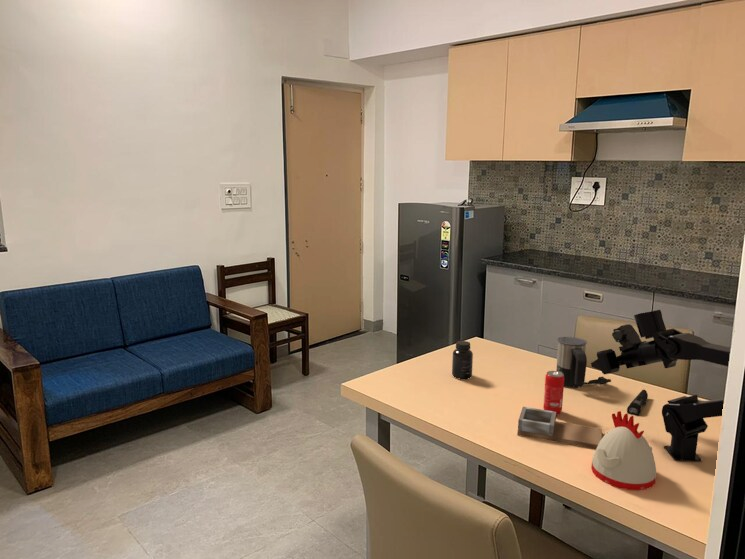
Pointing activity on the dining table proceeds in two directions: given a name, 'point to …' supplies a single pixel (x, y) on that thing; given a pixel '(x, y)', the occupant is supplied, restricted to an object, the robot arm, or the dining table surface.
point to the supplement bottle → (462, 360)
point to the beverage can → (554, 391)
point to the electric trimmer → (638, 403)
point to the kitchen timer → (624, 457)
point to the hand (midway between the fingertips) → (603, 362)
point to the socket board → (556, 429)
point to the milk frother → (574, 362)
